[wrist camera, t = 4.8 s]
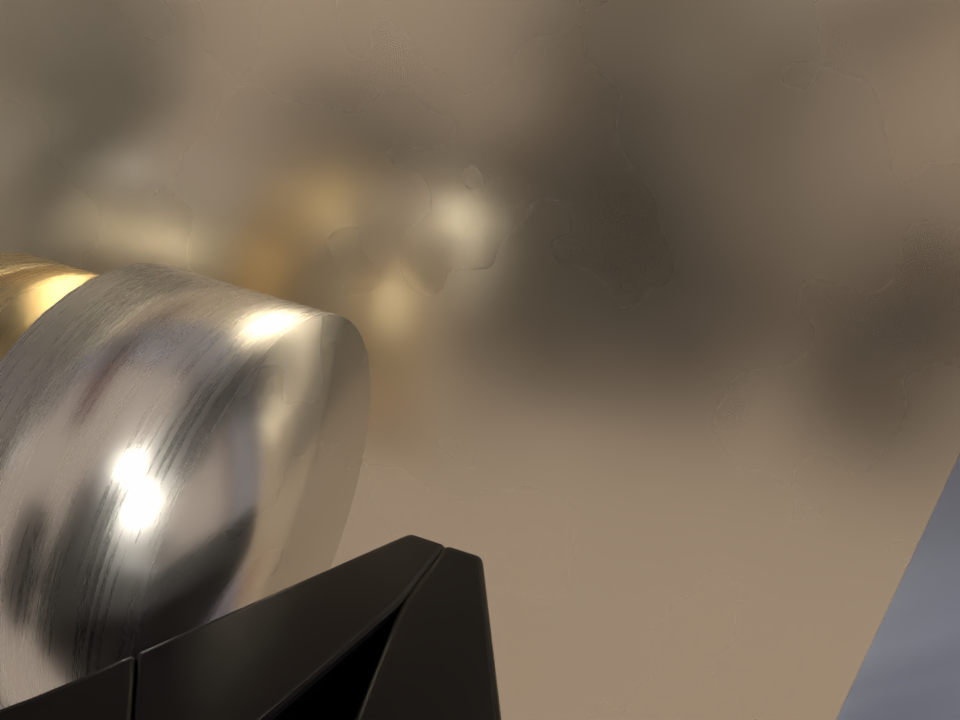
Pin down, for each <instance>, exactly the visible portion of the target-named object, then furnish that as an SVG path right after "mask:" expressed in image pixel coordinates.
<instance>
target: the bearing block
mask: <svg viewBox="0 0 960 720" xmlns="http://www.w3.org/2000/svg"><path fill="white" fill-rule="evenodd" d="M0 252H20V253H27V254H32V255H36V256H39V257H43V258H46V259H49V260H53V261H56V262H59V263H63V264H66V265H69V266H73V267H76V268H79V269H83V270H86V271H89V272H93V273H96V274H99V275H100V274H103V273H105V272H107V271H109V270H112V269H114V268H118V267H122V266H126V265H130V264H138V263H156V264H162V265H167V266H171V267H175V268H178V269H182V270H185V271H188V272H192V273H195V274H199V275H202V276H206V277H209V278H212V279H216V280H219V281H223V282H226V283H230V284H233V285H236V286H240V287H243V288H247V289H250V290H253V291H257V292H260V293H264V294H267V295H271V296H274V297H277V298H281V299H284V300H288V301H291V302H295V303H298V304H301V305H305V306H308V307H312V308H315V309H319V310H322V311H325V312H329V313H332V314H336V315H339V316H342V317H344V318H346V319H347V320H349V321H351V322H352V324H353V325H354V326H355V327H356V328H357V329H358V331H359V333H360V335H361V337H362V339H363V341H364V345H365V348H366V352H367V357H368V363H369V371H370V408H369V419H368V428H367V435H366V442H365V448H364V453H363V458H362V464H361V469H360V473H359V477H358V481H357V486H356V490H355V494H354V497H353V501H352V504H351V508H350V512H349V515H348V518H347V521H346V525H345V528H344V531H343V534H342V537H341V540H340V543H339V546H338V549H337V552H336V555H335V557H334V560H333V563H332V565H331V568H333V567H336V566H338V565H340V564H342V563H345V562H347V561H349V560H351V559H354V558H356V557H358V556H361V555H363V554H365V553H367V552H370V551H372V550H374V549H376V548H379V547H381V546H383V545H386V544H388V543H390V542H392V541H395V540H397V539H399V538H402V537H404V536H407V535H415V536H418V537H421V538H424V539H427V540H430V541H433V542H436V543H439V544H442V545H443V546H444V547H445V548H446V547H452V548H455V549H458V550H461V551H464V552H467V553H470V554H474V555H477V556H479V557H480V558H481V559H482V561H483V566H484V574H485V583H486V592H487V600H488V609H489V617H490V626H491V634H492V643H493V651H494V660H495V668H496V677H497V685H498V694H499V702H500V711H501V719H502V720H836V719H837V717H838V714H839V712H840V710H841V708H842V706H843V704H844V702H845V699H846V697H847V695H848V693H849V691H850V689H851V687H852V684H853V682H854V680H855V678H856V676H857V674H858V672H859V669H860V667H861V665H862V663H863V661H864V659H865V657H866V654H867V652H868V650H869V648H870V646H871V644H872V642H873V639H874V637H875V635H876V633H877V631H878V629H879V626H880V624H881V622H882V620H883V618H884V616H885V614H886V611H887V609H888V607H889V605H890V603H891V601H892V599H893V596H894V594H895V592H896V590H897V588H898V586H899V584H900V581H901V579H902V577H903V575H904V573H905V571H906V569H907V566H908V564H909V562H910V560H911V558H912V556H913V554H914V551H915V549H916V547H917V545H918V543H919V541H920V538H921V536H922V534H923V532H924V530H925V528H926V526H927V523H928V521H929V519H930V517H931V515H932V513H933V511H934V508H935V506H936V504H937V502H938V500H939V498H940V496H941V493H942V491H943V489H944V487H945V485H946V483H947V481H948V478H949V476H950V474H951V472H952V470H953V468H954V466H955V463H956V461H957V459H958V457H959V455H960V0H0ZM331 568H330V569H331Z"/></svg>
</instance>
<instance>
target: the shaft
mask: <svg viewBox="0 0 960 720" xmlns="http://www.w3.org/2000/svg"><path fill="white" fill-rule="evenodd" d="M369 408H370V371H369V363H368V357H367V352H366V348H365V345H364V341H363V339H362V337H361V335H360V333H359V331H358V329H357V328H356V327H355V326H354V325H353V324H352V322H351V321H349V320H347V319H346V318H344V317H342V316H339V315H336V314H332V313H329V312H325V311H322V310H319V309H315V308H312V307H308V306H305V305H301V304H298V303H295V302H291V301H288V300H284V299H281V298H277V297H274V296H271V295H267V294H264V293H260V292H257V291H253V290H250V289H247V288H243V287H240V286H236V285H233V284H230V283H226V282H223V281H219V280H216V279H212V278H209V277H206V276H202V275H199V274H195V273H192V272H188V271H185V270H182V269H178V268H175V267H171V266H167V265H162V264H156V263H138V264H130V265H126V266H122V267H118V268H114V269H112V270H109V271H107V272H105V273H103V274H100V275H99V274H96V273H93V272H89V271H86V270H83V269H79V268H76V267H73V266H69V265H66V264H63V263H59V262H56V261H53V260H49V259H46V258H43V257H39V256H36V255H32V254H27V253H20V252H0V709H3V708H5V707H8V706H11V705H14V704H16V703H19V702H22V701H25V700H27V699H30V698H33V697H35V696H38V695H40V694H42V693H45V692H47V691H50V690H52V689H55V688H57V687H59V686H62V685H64V684H67V683H69V682H72V681H74V680H76V679H79V678H81V677H84V676H86V675H89V674H91V673H93V672H96V671H98V670H100V669H103V668H105V667H107V666H109V665H112V664H114V663H116V662H118V661H121V660H123V659H125V658H128V657H133V658H135V660H136V657H137V655H138V654H139V653H140V652H142V651H144V650H147V649H149V648H151V647H153V646H156V645H158V644H160V643H162V642H165V641H167V640H169V639H172V638H174V637H176V636H178V635H181V634H183V633H185V632H188V631H190V630H192V629H194V628H197V627H199V626H201V625H203V624H206V623H208V622H210V621H213V620H215V619H217V618H219V617H222V616H224V615H226V614H228V613H231V612H233V611H235V610H238V609H240V608H242V607H244V606H247V605H249V604H251V603H254V602H256V601H258V600H260V599H263V598H265V597H267V596H269V595H272V594H274V593H276V592H279V591H281V590H283V589H285V588H288V587H290V586H292V585H295V584H297V583H299V582H301V581H304V580H306V579H308V578H310V577H313V576H315V575H317V574H320V573H322V572H324V571H326V570H329V569H330V568H331V565H332V563H333V560H334V557H335V555H336V552H337V549H338V546H339V543H340V540H341V537H342V534H343V531H344V528H345V525H346V521H347V518H348V515H349V512H350V508H351V504H352V501H353V497H354V494H355V490H356V486H357V481H358V477H359V473H360V469H361V464H362V458H363V453H364V448H365V442H366V435H367V428H368V419H369Z"/></svg>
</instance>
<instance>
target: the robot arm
mask: <svg viewBox="0 0 960 720" xmlns="http://www.w3.org/2000/svg"><path fill="white" fill-rule="evenodd" d="M0 720H502V719H501V711H500V702H499V694H498V685H497V677H496V668H495V660H494V651H493V643H492V634H491V626H490V617H489V609H488V600H487V592H486V583H485V574H484V566H483V561H482V559H481V558H480V557H479V556H477V555H474V554H470V553H467V552H464V551H461V550H458V549H455V548H452V547H446V548H445V547H444V546H443V545H442V544H439V543H436V542H433V541H430V540H427V539H424V538H421V537H418V536H415V535H407V536H404V537H402V538H399V539H397V540H395V541H392V542H390V543H388V544H386V545H383V546H381V547H379V548H376V549H374V550H372V551H370V552H367V553H365V554H363V555H361V556H358V557H356V558H354V559H351V560H349V561H347V562H345V563H342V564H340V565H338V566H336V567H333V568H331V569H329V570H326V571H324V572H322V573H320V574H317V575H315V576H313V577H310V578H308V579H306V580H304V581H301V582H299V583H297V584H295V585H292V586H290V587H288V588H285V589H283V590H281V591H279V592H276V593H274V594H272V595H269V596H267V597H265V598H263V599H260V600H258V601H256V602H254V603H251V604H249V605H247V606H244V607H242V608H240V609H238V610H235V611H233V612H231V613H228V614H226V615H224V616H222V617H219V618H217V619H215V620H213V621H210V622H208V623H206V624H203V625H201V626H199V627H197V628H194V629H192V630H190V631H188V632H185V633H183V634H181V635H178V636H176V637H174V638H172V639H169V640H167V641H165V642H162V643H160V644H158V645H156V646H153V647H151V648H149V649H147V650H144V651H142V652H140V653H139V654H138V655H137V657H136V660H135V658H133V657H128V658H125V659H123V660H121V661H118V662H116V663H114V664H112V665H109V666H107V667H105V668H103V669H100V670H98V671H96V672H93V673H91V674H89V675H86V676H84V677H81V678H79V679H76V680H74V681H72V682H69V683H67V684H64V685H62V686H59V687H57V688H55V689H52V690H50V691H47V692H45V693H42V694H40V695H38V696H35V697H33V698H30V699H27V700H25V701H22V702H19V703H16V704H14V705H11V706H8V707H5V708H3V709H0Z"/></svg>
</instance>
